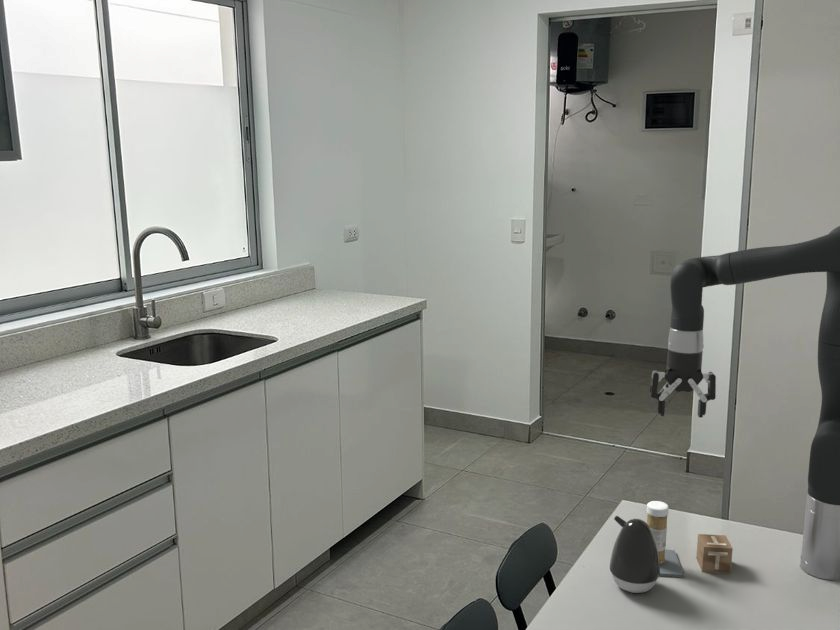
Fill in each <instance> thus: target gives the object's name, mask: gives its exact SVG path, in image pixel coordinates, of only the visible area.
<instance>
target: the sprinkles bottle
mask: <svg viewBox="0 0 840 630" xmlns="http://www.w3.org/2000/svg"><path fill="white" fill-rule="evenodd" d="M669 509H670V508H669V505H668V504H667V503H666V502H663V501H660V500H652V501H649V502H648V503H647V504H646V514H647V515H646V523H647V524H648V526H649V527H650V529H651V531H652V533H653V536H654V538H655V542H656V545H657V549H658V554H659V563H660V564H663V563H664V562H665V550H666V547H667V532H668V516H669Z"/></svg>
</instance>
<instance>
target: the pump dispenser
mask: <svg viewBox="0 0 840 630" xmlns="http://www.w3.org/2000/svg"><path fill="white" fill-rule="evenodd" d="M613 520H614V521H615V522H616V523H617V524H618V525H619V526H621V529H620V530H619V532H618V534H617V537H616V539H615V541H614V544H613V547H612V552H611V556H610V561H609V571H610V573H611V577H612V578H613V581H614V583H615V584H616V585H617V586H618V587H619V588H621V589H622V590H624V591H626V592H629V593H634V594H642V593H646V592H648V591H650V590H651V589H652V588H653V587H654V586H655V584H656V582H657V581H658V579H659V577H660V576H659V575H660V563H659V554H658V549H657V545H656V542H655V538H654V536H653V533H652V531H651V529H650V527H649V526H648V524H647V521H644V520H643V519H640V518H632V519H631V518H630V519H629V520H628V521H626V520H624V518H623V519H622V517H620V516H619V515H615V516H614V519H613Z"/></svg>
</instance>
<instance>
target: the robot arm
mask: <svg viewBox="0 0 840 630" xmlns="http://www.w3.org/2000/svg"><path fill="white" fill-rule="evenodd" d="M805 273H807V274H809V273H810V274H811V273H826V294H825V299H824V302H823V307H822V312H821V317H820V324H819V329H818V330H819V331H818V340H817V342H818V343H817V370H818V371H817V372H818V378H819V384H820V389H821V406H820V414H819V419H818V424H817V428H816V432H815V434H814V437H813V439H812V441H811V446H810V450H809V451H810V452H809V463H808V473H807V474H808V476H807V494H806V495H807V496H806V503H805V504H806V505H805V512H804V513H805V514H804V523H803V524H804V525H803V533H802V534H803V535H802V541H801V543H802V544H801V550H800V551H801V552H800V565H799V566H800V568H801V569H802V570H803V571H804V572H805V573H807V574H808V575H811V576H813V577H815V578H818V579H822V580H823V579H824V580H830V581H831V580H832V581H835V580H837V581H838V580H840V225H839V226H837V227H835V228H833V229H832V230H831V231H830V232H828V234H825V235H823V236H819V237H815V238H813V239H810V240H806V241H803V242H797V243H792V244H786V245H775V246H763V247H755V248H747V249H742V250H736V251H730V252H727V253H723V254H719V255H718V254H717V255H708V256H707V255H706V256H698V257H692V258H687V259H685V260H683V261H682V262H680V263H678V264H677V265H676V266H675V267H674V268H673V270H672V272H671V276H670V297H671V298H670V299H671V315H670V326H669V327H670V329H669V333H668V342H667V357H666V358H667V359H666V369H665V371H658V370H656V369H654V370H653V369H652V372H651V377H650V385H649V395H650V398H652V399H656V400H657V404H656V410H657V412H658V414H659V415H660V417H665V410H666V409H665V408H666V401H665V399H666V398H668V396H669V395H671V394H672V393H673V391H675V392H678V393H679V392H680V393H681V392H686V393H691V392H692V391H694V393H695V394H696V395H697V396H698V398H699V399H698V401H697V416H698V418H703V417H704V416H705V415H706V414H707V412H706V411H707V403H708V401H714V400H715V399H716V398H717V397H716V396H717V395H716V394H717V393H716V389H717V388H716V386H717V384H716V383H717V380H716V379H717V377H716V375H715V373H714V372H712V371H709V372H707V373H702V367H703V365H702V364H703V353H704V351H703V350H704V323H705V322H704V321H705V309H704V306H703V305H702V304H703V303H702V301H703V291H704V290H703V288H707V287H712V286H719V285H724V286H733V285H735V286H736V285H740V284H746V283H751V282H757V281H758V282H759V281H763V280H768V279H774V278H778V277H784V276H790V275H797V274H799V275H800V274H805ZM663 378H664V379H665V381H666V383H665V384H664V385H663V387H662V388H661V389H660V391H658V386H659V382H661V381H662V379H663ZM703 380H704V381H705V383H707V393H705V394H704V393H703V391H702V390H701V388H700V387H699V385H700V383H701V382H702V381H703Z"/></svg>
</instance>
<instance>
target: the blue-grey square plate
mask: <svg viewBox="0 0 840 630" xmlns="http://www.w3.org/2000/svg"><path fill="white" fill-rule="evenodd" d="M675 550H676V549H665V562H664V563H663V564H660V575H659V577H667V578H668V577H671V578H684V572H683V569H682V567H681V564H680V561H679V559H678V556H677V553H676V551H675Z"/></svg>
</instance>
